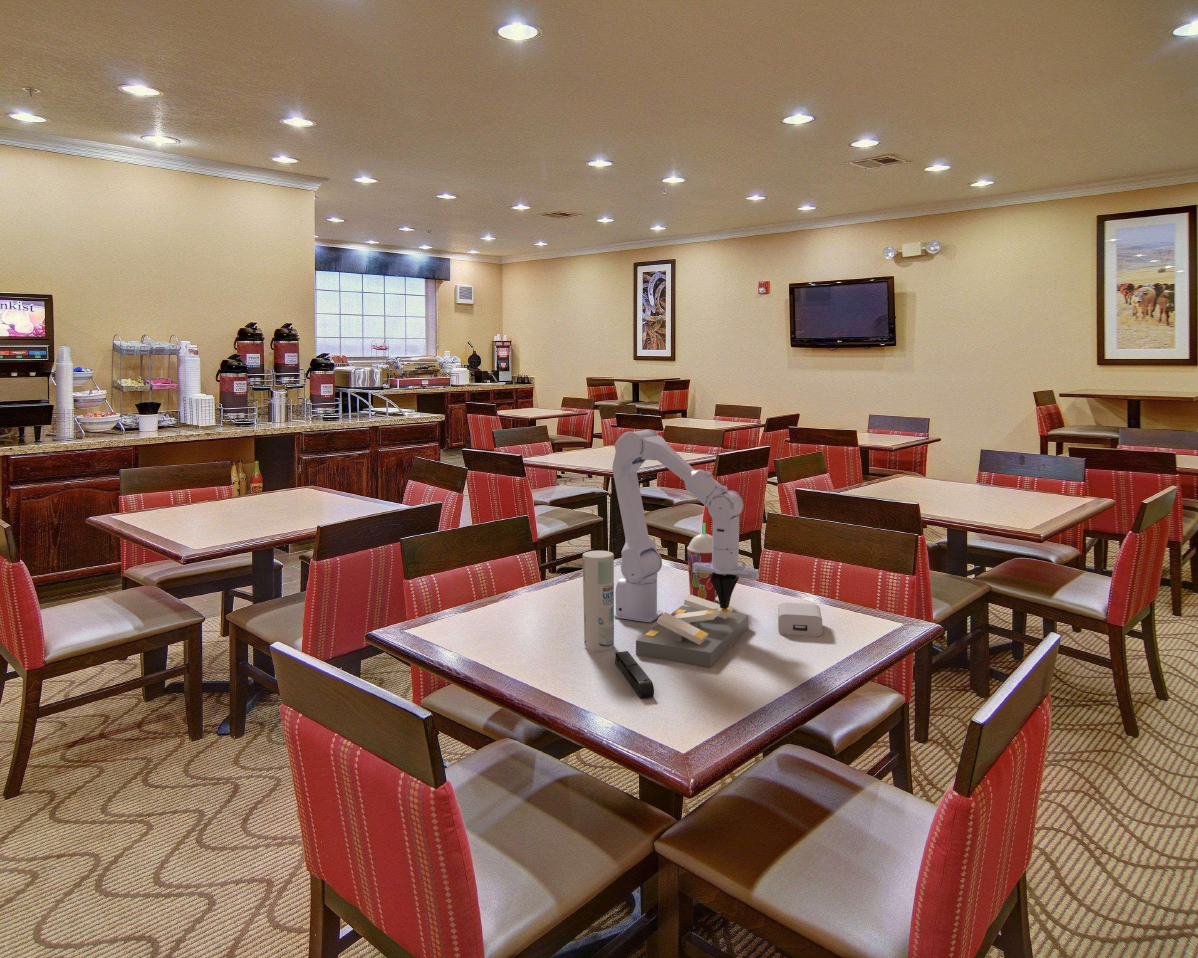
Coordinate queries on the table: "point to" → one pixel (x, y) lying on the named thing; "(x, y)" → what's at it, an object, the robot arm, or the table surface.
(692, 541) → the smoothie
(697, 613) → the block
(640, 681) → the black long bar
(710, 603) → the block
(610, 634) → the spray can
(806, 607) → the charger
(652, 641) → the switch panel
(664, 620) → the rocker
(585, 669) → the table surface
